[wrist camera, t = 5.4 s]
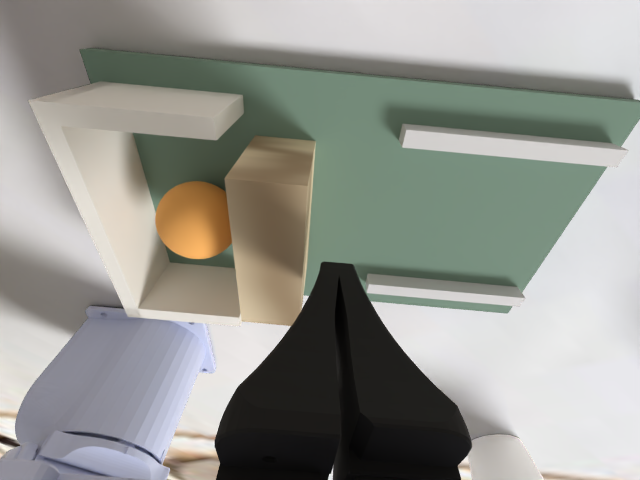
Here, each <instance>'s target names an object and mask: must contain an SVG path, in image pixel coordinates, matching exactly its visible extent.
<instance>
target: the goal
mask: <svg viewBox="0 0 640 480" xmlns="http://www.w3.org/2000/svg"><path fill="white" fill-rule="evenodd" d="M28 102H29V104H30V106H31V108H32V110H33V113H34V115H35V117H36V119H37V121H38V123H39V126H40V128H41V130H42V132H43V134H44V136H45V139H46V141H47V143H48V145H49V147H50V149H51V152H52V154H53V156H54V158H55V160H56V162H57V165H58V167H59V169H60V171H61V173H62V175H63V177H64V180H65V182H66V184H67V186H68V188H69V190H70V193H71V195H72V197H73V199H74V201H75V203H76V206H77V208H78V210H79V212H80V214H81V216H82V219H83V221H84V223H85V225H86V227H87V229H88V232H89V234H90V236H91V238H92V240H93V242H94V245H95V247H96V249H97V251H98V253H99V255H100V257H101V260H102V262H103V264H104V266H105V268H106V270H107V273H108V275H109V277H110V279H111V281H112V283H113V286H114V288H115V290H116V292H117V294H118V296H119V299H120V301H121V303H122V305H123V307H124V309H125V312H126V314H127V316H128V317H136V318H148V319H159V320H170V321H182V322H193V323H204V324H216V325H227V326H238V327H240V326H241V323H242V320H241V312H240V304H239V295H238V287H237V279H236V270H235V268H226V267H215V266H204V265H193V264H182V263H171V262H170V261H169V258H168V254H167V251H166V247H165V244H164V243H163V241H162V240H161V238H160V236H159V234H158V232H157V228H156V224H155V215H156V212H155V209H154V206H153V202H152V199H151V195H150V192H149V188H148V185H147V181H146V178H145V174H144V171H143V167H142V164H141V160H140V157H139V153H138V150H137V147H136V143H135V140H134V136H133V133H142V134H153V135H163V136H174V137H185V138H196V139H206V140H218V139H219V138H220V137H221V136H222V135H223V134H224V133H225V132H226V131H227V130H228V129H229V128H230V127H231V126H232V125H233V124H234V123H235V122H236V121H237V120H238V119H239V118H240V117H241V116H242V115H243V114H244V105H243V95H240V94H229V93H219V92H208V91H198V90H187V89H176V88H166V87H155V86H144V85H134V84H123V83H112V82H102V81H100V82H96V83H93V84H89V85H85V86H81V87H77V88H73V89H69V90H66V91H62V92H58V93H54V94H50V95H46V96H42V97H39V98H35V99H31V100H28Z"/></svg>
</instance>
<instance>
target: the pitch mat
mask: <svg viewBox="0 0 640 480" xmlns="http://www.w3.org/2000/svg"><path fill="white" fill-rule="evenodd" d="M79 50H80V53H81V56H82V59H83V62H84V65H85V68H86V71H87V74H88V77H89V80H90V83H91V84H93V83H96V82H100V81H102V82H112V83H123V84H134V85H144V86H155V87H166V88H176V89H187V90H198V91H208V92H219V93H229V94H240V95H243V105H244V114H243V115H242V116H241V117H240V118H239V119H238V120H237V121H236V122H235V123H234V124H233V125H232V126H231V127H230V128H229V129H228V130H227V131H226V132H225V133H224V134H223V135H222V136H221V137H220V138H219V139H218V140H206V139H196V138H185V137H174V136H163V135H153V134H142V133H133V136H134V140H135V143H136V147H137V150H138V153H139V157H140V160H141V164H142V167H143V171H144V174H145V178H146V181H147V185H148V188H149V192H150V195H151V199H152V202H153V206H154V209H155V212H156V210H157V207H158V204H159V202H160V200H161V199H162V198H163V196H164V195H165V194H166V193H167V192H168V191H169V190H170V189H172V188H174V187H175V186H177V185H179V184H182V183H185V182H191V181H202V182H207V183H210V184H213V185H216V186H218V187H219V188H221V189H222V190H224V191H225V192H226V187H225V179H224V178H225V177H226V176H227V174H228V173H229V171H230V170H231V169H232V167H233V166H234V164H235V163H236V162H237V160H238V159H239V157H240V156H241V155H242V153H243V152H244V150H245V149H246V148H247V146H248V145H249V143H250V142H251V141H252V139H253V138H254V136H255V135H257V136H267V137H278V138H289V139H300V140H310V141H316V145H315V160H314V174H313V189H312V203H311V218H310V232H309V247H308V261H307V270H306V278H305V286H304V294H303V295H307V296H310V293H311V291H312V289H313V287H314V285H315V282H316V280H317V277H318V274H319V271H320V265H321V263H322V262H323V261H325V262H337V263H348V264H353V265H354V266H355V269H356V272H357V275H358V277H359V279H360V282H361V284H362V286H363V288H364V290H365V292H366V294H367V296H368V298H369V300H370V301H374V302H385V303H396V304H408V305H419V306H430V307H441V308H452V309H464V310H475V311H486V312H497V313H508V312H509V311H510V309H511V308H512V306H518V307H520V305H521V304H522V302H523V301H524V299H525V297H524V295H523V294H522V292H523V290H524V289H525V287H526V286H527V284H528V283H529V281H530V280H531V278H532V277H533V275H534V274H535V273H536V271H537V270H538V268H539V267H540V265H541V264H542V262H543V261H544V259H545V258H546V256H547V255H548V253H549V252H550V250H551V249H552V248H553V246H554V245H555V243H556V242H557V240H558V239H559V237H560V236H561V234H562V233H563V231H564V230H565V228H566V227H567V225H568V224H569V222H570V221H571V220H572V218H573V217H574V215H575V214H576V212H577V211H578V209H579V208H580V206H581V205H582V203H583V202H584V200H585V199H586V197H587V196H588V195H589V193H590V192H591V190H592V189H593V187H594V186H595V184H596V183H597V181H598V180H599V178H600V177H601V175H602V174H603V172H604V171H605V169H606V168H607V167H618V165H619V164H620V162H621V161H622V159H623V158H624V157H625V155H626V154H627V152H628V151H629V150H626V149H624V148H622V147H621V146H622V144H623V143H624V142H625V140H626V139H627V137H628V136H629V134H630V133H631V131H632V130H633V128H634V127H635V125H636V124H637V122H638V121H639V119H640V101H639V100H635V99H624V98H614V97H603V96H593V95H582V94H572V93H561V92H551V91H540V90H529V89H519V88H508V87H498V86H487V85H477V84H466V83H456V82H445V81H435V80H424V79H413V78H403V77H392V76H382V75H371V74H361V73H350V72H340V71H329V70H318V69H308V68H297V67H287V66H276V65H266V64H255V63H245V62H234V61H223V60H213V59H202V58H192V57H181V56H171V55H160V54H150V53H139V52H129V51H118V50H107V49H97V48H87V49H79ZM165 247H166V251H167V254H168V258H169V261H170V262H171V263H182V264H193V265H204V266H215V267H226V268H235V262H234V254H233V246H232V243H231V245H230V246H229V247H228V248H227V249H226V250H224V251H223V252H221V253H220V254H218V255H216V256H213V257H210V258H206V259H191V258H186V257H183V256H181V255H178V254H176V253H175V252H173V251H172V250H170V249H169V248H168V247H167V246H166V245H165Z"/></svg>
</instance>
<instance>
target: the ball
mask: <svg viewBox="0 0 640 480" xmlns="http://www.w3.org/2000/svg"><path fill="white" fill-rule="evenodd" d="M155 224H156V228H157V232H158V234H159V236H160V238H161V240H162V241H163V243H164V244H165V245H166V246H167V247H168V248H169V249H170V250H172V251H173V252H175V253H176V254H178V255H181V256H183V257H186V258H191V259H206V258H210V257H213V256H216V255H218V254H220V253H221V252H223V251H224V250H226V249H227V248H228V247H229V246H230V245H231V243H232V237H231V229H230V221H229V212H228V204H227V196H226V192H225V191H224V190H222V189H221V188H219V187H218V186H216V185H213V184H210V183H207V182H202V181H191V182H185V183H182V184H179V185H177V186H175V187H174V188H172V189H170V190H169V191H168V192H167V193H166V194H165V195H164V196H163V198H162V199H161V200H160V202H159V204H158V207H157V210H156V215H155Z"/></svg>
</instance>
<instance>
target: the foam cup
mask: <svg viewBox="0 0 640 480" xmlns="http://www.w3.org/2000/svg"><path fill="white" fill-rule="evenodd" d="M468 460H469V465H470V471H471V476H472V480H544V478H543V477H542V475H541V473H540V471H539V470H538V468H537V466H536V464H535V463H534V461H533V459H532V457H531V456H530V454H529V452H528V450H527V449H526V447H525V446H524V444H523V442H522V441H521V440H520V439H519V438H518V437H515V436H512V435H503V434H494V435H486V436H482V437H479V438H476V439H473V440H472V448H471V450H470V452H469V454H468Z"/></svg>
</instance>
